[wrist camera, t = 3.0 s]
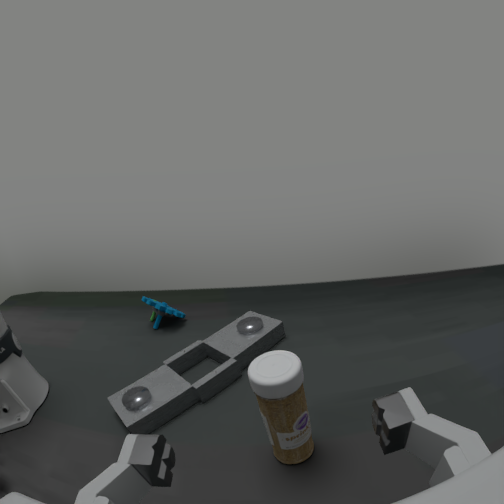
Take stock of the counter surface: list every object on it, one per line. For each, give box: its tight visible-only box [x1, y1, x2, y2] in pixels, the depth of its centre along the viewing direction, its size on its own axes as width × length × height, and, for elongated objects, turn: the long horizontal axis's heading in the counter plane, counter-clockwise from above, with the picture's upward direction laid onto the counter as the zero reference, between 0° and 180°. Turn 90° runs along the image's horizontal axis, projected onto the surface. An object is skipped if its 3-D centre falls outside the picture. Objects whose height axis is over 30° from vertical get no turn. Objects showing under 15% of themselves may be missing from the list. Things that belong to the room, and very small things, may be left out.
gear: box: [142, 296, 185, 329], centre depth 62 cm, size 11×6×10 cm
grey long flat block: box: [108, 311, 285, 435], centre depth 43 cm, size 29×10×4 cm, turn 133°
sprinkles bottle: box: [248, 350, 314, 464], centre depth 26 cm, size 5×5×13 cm
